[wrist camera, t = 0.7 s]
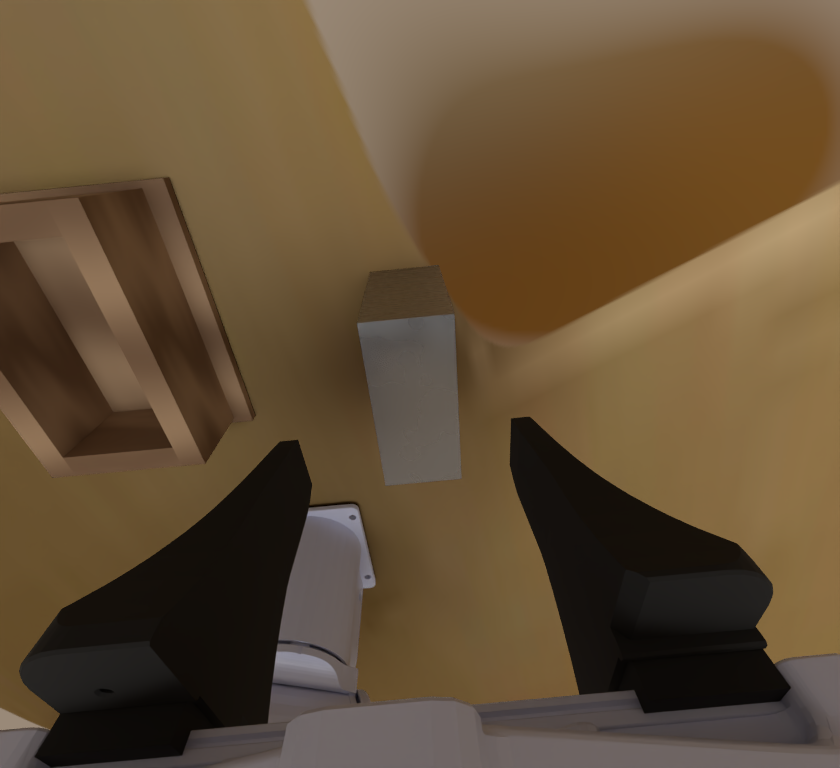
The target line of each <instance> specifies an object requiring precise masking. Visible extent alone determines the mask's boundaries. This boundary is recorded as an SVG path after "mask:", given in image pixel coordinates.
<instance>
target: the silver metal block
mask: <svg viewBox="0 0 840 768" xmlns="http://www.w3.org/2000/svg"><path fill="white" fill-rule="evenodd" d="M357 327H358V332H359V338H360V344H361V349H362V355H363V361H364V366H365V372H366V378H367V383H368V389H369V394H370V400H371V406H372V411H373V417H374V423H375V428H376V434H377V440H378V445H379V451H380V456H381V462H382V468H383V473H384V479H385V485H386V486H388V485H398V484H409V483H420V482H431V481H442V480H453V479H461V457H460V433H459V410H458V386H457V363H456V339H455V315H454V311H453V308H452V305H451V302H450V299H449V296H448V293H447V290H446V286H445V283H444V280H443V277H442V274H441V272H440V268H439V266H438V265H434V266H427V267H416V268H406V269H396V270H385V271H375V272H370V274H369V278H368V282H367V286H366V290H365V294H364V298H363V301H362V305H361V309H360V313H359V317H358V321H357Z"/></svg>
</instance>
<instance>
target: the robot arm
mask: <svg viewBox="0 0 840 768" xmlns="http://www.w3.org/2000/svg"><path fill="white" fill-rule="evenodd" d="M510 467H511V471H512V475H513V479H514V483H515V487H516V490H517V493H518V496H519V499H520V501H521V504H522V506H523V509H524V511H525V514H526V516H527V519H528V521H529V524H530V526H531V529H532V531H533V534H534V536H535V539H536V541H537V544H538V546H539V548H540V551H541V554H542V557H543V560H544V562H545V566H546V569H547V573H548V576H549V579H550V583H551V586H552V590H553V593H554V597H555V601H556V604H557V608H558V611H559V615H560V619H561V622H562V626H563V630H564V634H565V638H566V642H567V645H568V649H569V653H570V657H571V661H572V665H573V669H574V673H575V678H576V682H577V686H578V690H579V694H580V695H574V696H563V697H552V698H541V699H530V700H519V701H509V702H498V703H487V704H476V705H470V704H469V703H467V702H464V701H461V700H458V699H456V698H453V697H423V698H412V699H401V700H390V701H380V702H370V699H369V696H368V694H367V693H366V691H364V690H357V678H358V669H357V668H355V667H356V663H357V655H358V644H359V632H360V621H361V609H362V598H363V588H372V587H374V586H375V584H376V579H375V575H374V571H373V566H372V562H371V558H370V554H369V549H368V545H367V541H366V536H365V532H364V528H363V524H362V519H361V515H360V511H359V507H358V506H357V505H355V504H345V505H334V506H323V507H312V508H309V503H310V496H311V489H312V483H311V479H310V476H309V473H308V470H307V467H306V464H305V461H304V457H303V454H302V451H301V448H300V445H299V442H298V440H292V441H282V442H279V443H278V444H277V445H276V446H275V447H274V448H273V449H272V450H271V451H270V453H269V454H268V455H267V456H266V457H265V458H264V459H263V460H262V461H261V462H260V463H259V464H258V465H257V466H256V468H255V469H254V470H253V471H252V472H251V473H250V474H249V475H248V476H247V477H246V478H245V479H244V480H243V481H242V482H241V483H240V484H239V485H238V486H237V487H236V488H235V489H234V490H233V491H232V492H231V493H230V494H229V495H228V496H227V497H226V498H224V499H223V500H222V501H221V502H220V503H219V504H218V505H217V506H216V507H215V508H214V509H213V510H212V511H210V512H209V513H208V514H207V515H206V516H205V517H203V518H202V519H201V520H200V521H199V522H197V523H196V524H195V525H194V526H192V527H191V528H190V529H189V530H187V531H186V532H185V533H183V534H182V535H181V536H179V537H178V538H177V539H175V540H174V541H172V542H171V543H170V544H168V545H167V546H166V547H164V548H163V549H161V550H160V551H159V552H157V553H156V554H154V555H153V556H151V557H150V558H148V559H147V560H145V561H144V562H142V563H141V564H139V565H138V566H136V567H135V568H133V569H131V570H130V571H128V572H126V573H125V574H123V575H122V576H120V577H118V578H117V579H115V580H113V581H112V582H110V583H108V584H107V585H105V586H103V587H101V588H99V589H97V590H96V591H94V592H92V593H90V594H88V595H87V596H85V597H83V598H81V599H79V600H78V601H76V602H74V603H72V604H70V605H68V606H66V607H64V608H63V609H61V611H60V612H59V613H58V615H57V616H56V617H55V619H54V620H53V621H52V623H51V624H50V626H49V627H48V628H47V630H46V631H45V632H44V634H43V635H42V636H41V638H40V639H39V640H38V642H37V643H36V644H35V646H34V647H33V648H32V650H31V651H30V652H29V654H28V655H27V657H26V658H25V659H24V661H23V662H22V663H21V666H20V670H19V672H20V676H21V679H22V681H23V683H24V684H25V685H26V686H27V687H28V688H29V689H30V690H31V691H32V692H33V693H34V694H36V695H37V696H38V697H40V698H41V699H42V700H43V701H45V702H46V703H47V704H49V705H50V706H51V707H52V708H54V709H55V710H56V711H57V712H59V713H60V715H59V717H58V719H57V720H56V722H55V724H54V725H53V727H52V729H51V730H48V729H43V728H21V729H10V730H0V768H840V655H839V654H836V653H834V654H823V655H813V656H802V657H792V658H787V659H783V660H781V661H779V662H777V663H775V664H773V662H772V661H771V659H770V658H769V657H768V655H767V654H766V653H765V651H764V650H763V649H764V648H766V647H767V643H766V640H765V639H764V637H763V636H762V635H761V633H760V632H759V631H758V629H757V628H756V627H755V626H756V625H757V623H758V621H759V620H760V618H761V617H762V615H763V613H764V612H765V610H766V609H767V607H768V605H769V603H770V601H771V598H772V595H773V586H772V583H771V582H770V581H769V579H768V578H767V577H766V575H765V574H764V573H763V572H762V571H761V569H760V568H759V567H758V566H757V565H756V563H755V562H754V561H753V560H752V559H751V558H750V557H749V556H748V554H747V553H746V552H745V551H744V550H743V549H742V548H741V547H740V546H739V545H738V544H737V543H734V542H732V541H729V540H726V539H724V538H721V537H719V536H716V535H714V534H711V533H708V532H706V531H703V530H701V529H698V528H696V527H693V526H691V525H689V524H687V523H684V522H682V521H680V520H678V519H676V518H673V517H671V516H669V515H667V514H665V513H663V512H661V511H659V510H657V509H655V508H653V507H651V506H649V505H647V504H645V503H644V502H642V501H640V500H638V499H636V498H634V497H633V496H631V495H629V494H627V493H626V492H624V491H622V490H621V489H619V488H618V487H616V486H614V485H613V484H611V483H610V482H608V481H607V480H605V479H604V478H602V477H601V476H599V475H598V474H596V473H595V472H593V471H592V470H591V469H589V468H588V467H587V466H585V465H584V464H583V463H581V462H580V461H579V460H578V459H576V458H575V457H574V456H573V455H572V454H570V453H569V452H568V451H567V450H566V449H564V448H563V447H562V446H561V445H560V444H559V443H558V442H556V441H555V440H554V439H553V438H552V437H551V436H550V435H549V434H548V433H547V432H546V431H544V430H543V429H542V428H541V427H540V426H539V425H538V424H537V423H536V422H535V421H534V420H533V419H532V418H530V417H522V418H512V419H511V443H510ZM352 515H355V516H352Z"/></svg>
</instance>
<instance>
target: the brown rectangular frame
mask: <svg viewBox="0 0 840 768" xmlns="http://www.w3.org/2000/svg"><path fill="white" fill-rule="evenodd" d="M0 409H1V411H2V412H3V413H4V414H5V416H6V417H7V418H8V420H9V421H10V422H11V424H12V425H13V426H14V428H15V429H16V430H17V432H18V433H19V434H20V436H21V437H22V438H23V440H24V441H25V442H26V444H27V445H28V446H29V447H30V449H31V450H32V451H33V453H34V454H35V455H36V457H37V458H38V459H39V461H40V462H41V463H42V465H43V466H44V467H45V469H46V470H47V471H48V473H49V474H50V475H51V477H52V478H56V477H67V476H78V475H89V474H100V473H110V472H121V471H132V470H143V469H154V468H165V467H175V466H186V465H197V464H205V463H206V462H207V460H208V459H209V457H210V455H211V454H212V452H213V451H214V449H215V447H216V446H217V444H218V443H219V441H220V439H221V438H222V436H223V435H224V433H225V432H226V430H227V428H228V427H229V425H230V424H231V423H232V422H243V421H253V419H254V417H255V413H254V410H253V408H252V405H251V402H250V399H249V397H248V394H247V391H246V388H245V386H244V383H243V380H242V377H241V375H240V372H239V369H238V366H237V364H236V361H235V358H234V355H233V353H232V350H231V347H230V344H229V342H228V339H227V336H226V333H225V331H224V328H223V325H222V322H221V320H220V317H219V314H218V311H217V309H216V306H215V303H214V300H213V298H212V295H211V292H210V289H209V287H208V284H207V281H206V278H205V276H204V273H203V270H202V267H201V265H200V262H199V259H198V256H197V254H196V251H195V248H194V245H193V243H192V240H191V237H190V234H189V232H188V229H187V226H186V223H185V221H184V218H183V215H182V212H181V209H180V207H179V204H178V201H177V198H176V196H175V193H174V190H173V187H172V185H171V182H170V179H169V178H159V179H148V180H138V181H128V182H118V183H108V184H98V185H87V186H77V187H67V188H57V189H47V190H37V191H27V192H16V193H6V194H0Z"/></svg>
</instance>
